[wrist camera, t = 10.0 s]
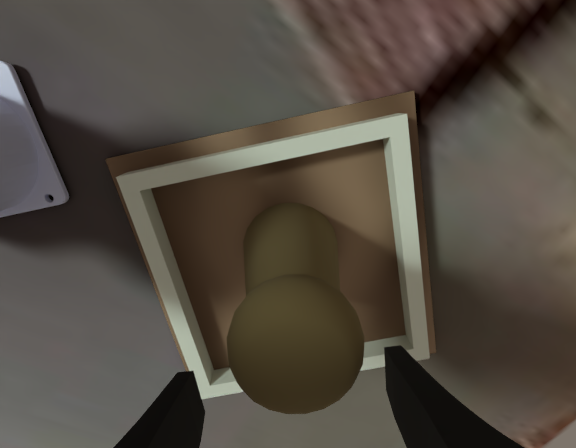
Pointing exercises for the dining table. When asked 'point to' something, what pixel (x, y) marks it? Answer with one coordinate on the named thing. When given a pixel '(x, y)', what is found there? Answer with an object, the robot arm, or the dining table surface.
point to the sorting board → (287, 189)
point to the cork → (294, 315)
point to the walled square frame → (386, 128)
